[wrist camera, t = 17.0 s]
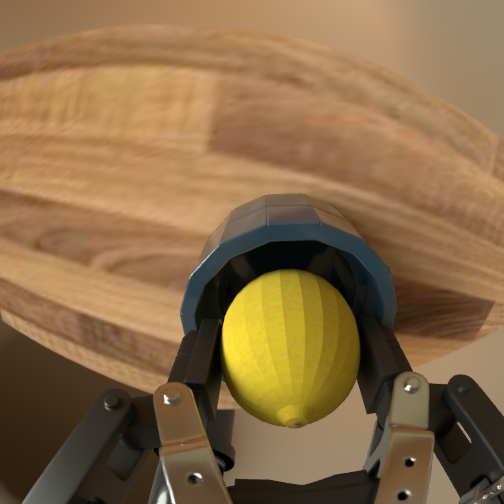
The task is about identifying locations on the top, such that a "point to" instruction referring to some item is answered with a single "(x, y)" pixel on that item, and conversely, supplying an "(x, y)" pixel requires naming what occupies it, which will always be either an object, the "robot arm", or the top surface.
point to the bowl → (287, 258)
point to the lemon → (289, 348)
